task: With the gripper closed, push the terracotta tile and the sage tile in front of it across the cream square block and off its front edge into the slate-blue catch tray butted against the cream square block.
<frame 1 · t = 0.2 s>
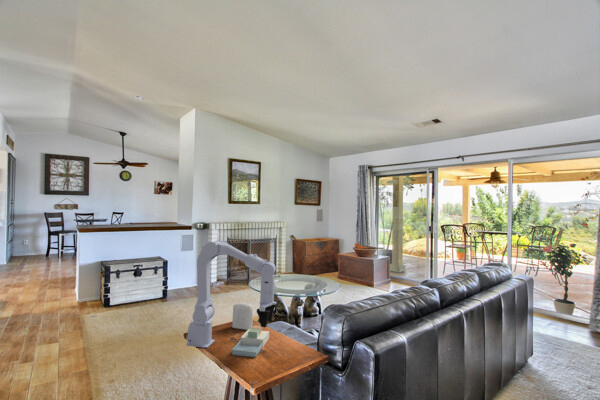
hand: (266, 323, 132), 10 cm above the table, fingers open, 7 cm apart
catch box: (247, 350, 129), on the table
sage tile: (253, 336, 137), point 3 cm above the table, touching cream square block
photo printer: (242, 328, 155), on the table
terracotta tile: (256, 332, 141), point 3 cm above the table, touching cream square block
cream square block: (255, 341, 139), on the table
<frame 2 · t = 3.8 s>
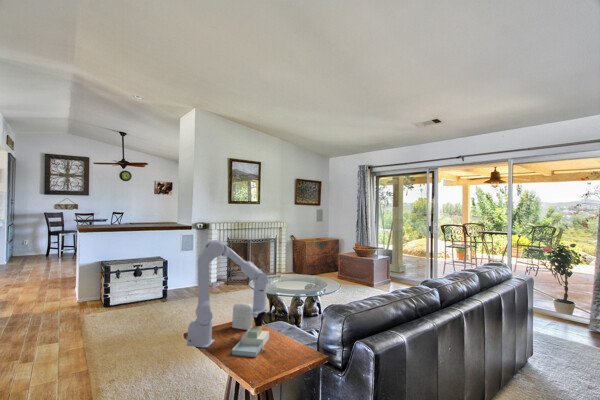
hand: (258, 328, 144), 4 cm above the table, fingers closed
sage tile: (253, 336, 137), point 3 cm above the table, touching terracotta tile
terracotta tile: (256, 333, 141), point 3 cm above the table, touching gripper, sage tile
everything else where it was.
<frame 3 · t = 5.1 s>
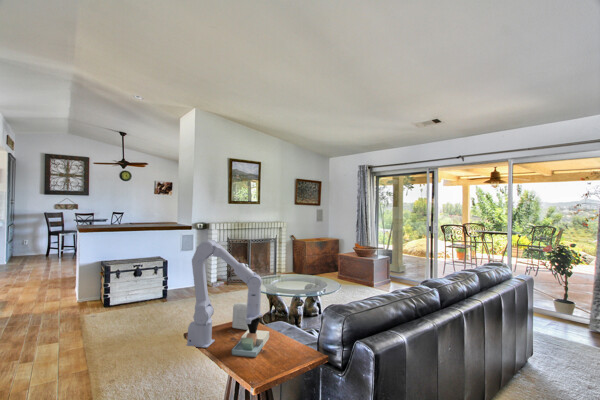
hand: (252, 335, 135), 4 cm above the table, fingers closed
sage tile: (248, 341, 130), point 3 cm above the table, tilted 123°, touching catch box, terracotta tile
terracotta tile: (251, 341, 133), point 2 cm above the table, tilted 33°, touching gripper, sage tile
everything else where it was.
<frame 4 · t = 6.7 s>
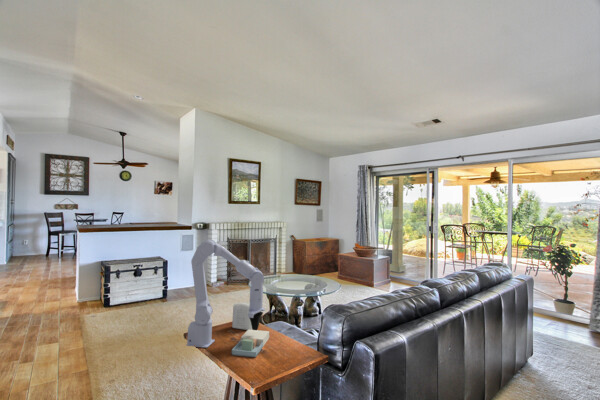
hand: (255, 329, 138), 5 cm above the table, fingers closed
sage tile: (248, 343, 130), point 2 cm above the table, tilted 90°, touching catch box
terracotta tile: (250, 346, 132), resting on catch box
everything else where it was.
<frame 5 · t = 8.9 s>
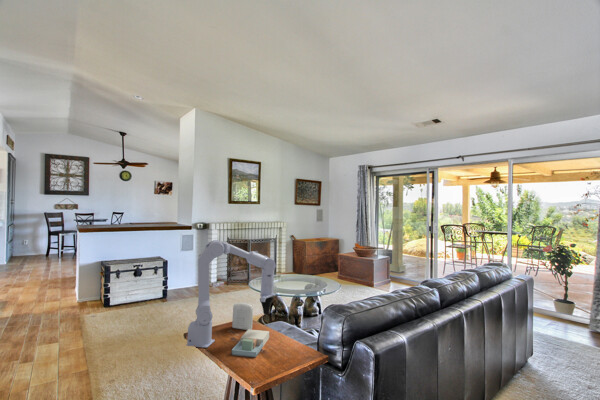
hand: (266, 313, 145), 10 cm above the table, fingers closed
nothing on the table moved.
at the end: terracotta tile inside the target area on the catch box (3.4 cm from its centre), point 0.4 cm above the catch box's base; sage tile inside the target area on the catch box (1.2 cm from its centre), point 2.4 cm above the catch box's base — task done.
